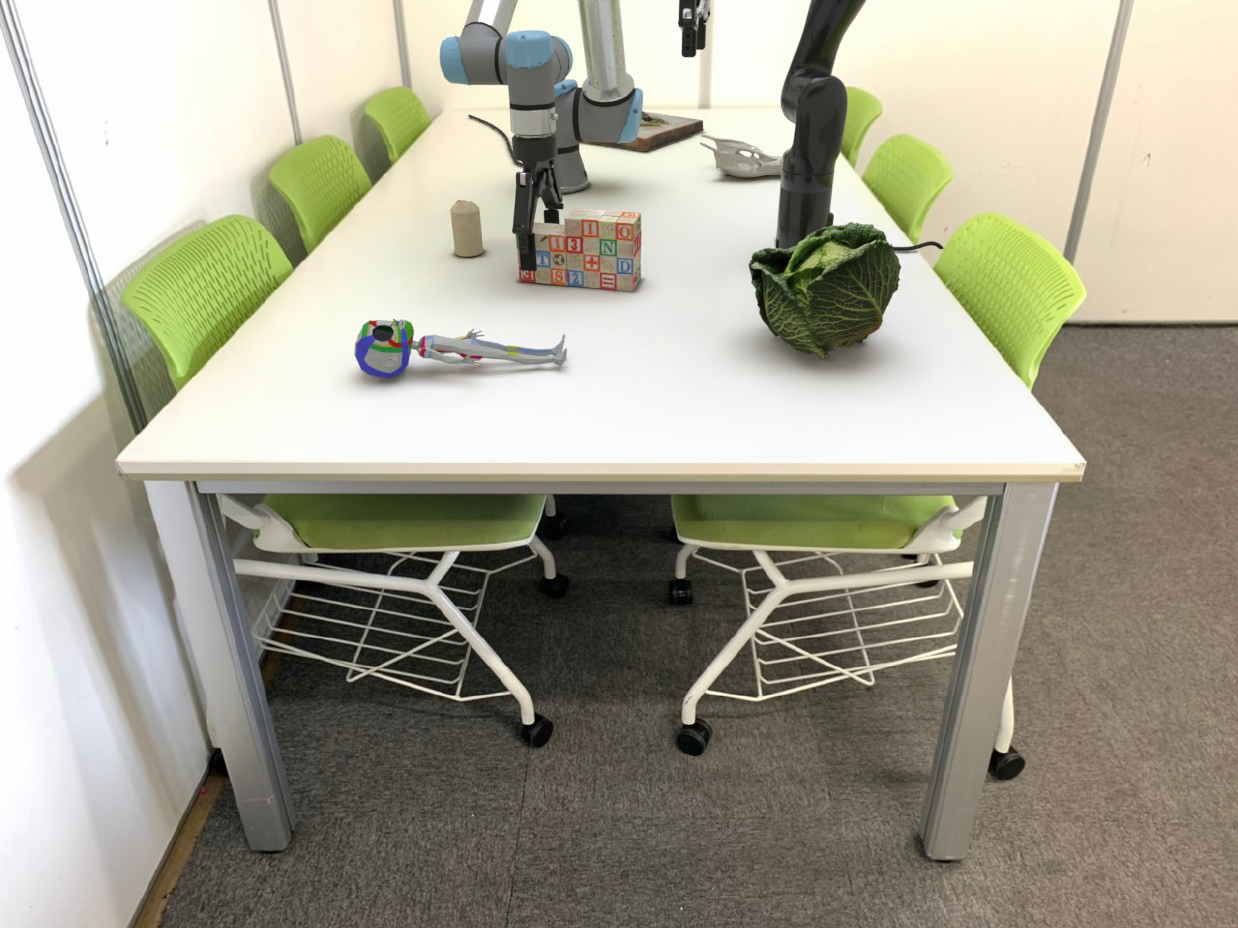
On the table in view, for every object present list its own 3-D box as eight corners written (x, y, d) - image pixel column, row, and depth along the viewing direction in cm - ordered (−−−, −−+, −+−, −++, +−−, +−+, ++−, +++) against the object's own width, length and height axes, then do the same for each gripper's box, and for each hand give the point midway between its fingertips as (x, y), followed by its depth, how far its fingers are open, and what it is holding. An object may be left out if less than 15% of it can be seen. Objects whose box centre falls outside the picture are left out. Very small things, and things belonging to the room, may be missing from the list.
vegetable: (778, 371, 145) (721, 264, 137) (874, 304, 146) (823, 195, 138) (839, 398, 127) (777, 277, 119) (948, 321, 128) (894, 197, 120)
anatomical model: (702, 130, 224) (803, 129, 220) (702, 168, 229) (801, 167, 225) (697, 145, 212) (805, 144, 208) (697, 184, 216) (802, 184, 213)
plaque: (647, 125, 237) (559, 112, 252) (647, 153, 241) (560, 139, 256) (706, 107, 258) (622, 97, 273) (705, 133, 262) (622, 121, 277)
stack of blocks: (518, 282, 161) (513, 214, 155) (529, 270, 166) (525, 204, 160) (634, 291, 157) (633, 222, 150) (642, 279, 162) (642, 211, 155)
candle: (488, 249, 176) (483, 198, 171) (475, 258, 172) (470, 206, 167) (463, 246, 178) (457, 196, 173) (450, 255, 174) (443, 204, 168)
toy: (569, 347, 126) (349, 329, 122) (563, 400, 131) (350, 385, 126) (565, 318, 135) (359, 301, 130) (559, 369, 139) (360, 354, 134)
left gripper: (530, 151, 138) (538, 283, 150) (576, 120, 159) (581, 237, 170) (485, 149, 140) (496, 279, 151) (536, 118, 161) (543, 235, 172)
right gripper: (714, -63, 128) (709, 60, 136) (728, -67, 139) (723, 47, 148) (662, -63, 129) (661, 59, 138) (681, -66, 141) (679, 46, 150)
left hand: (541, 257), depth 161 cm, fingers open, 13 cm apart
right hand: (693, 53), depth 143 cm, fingers open, 8 cm apart
